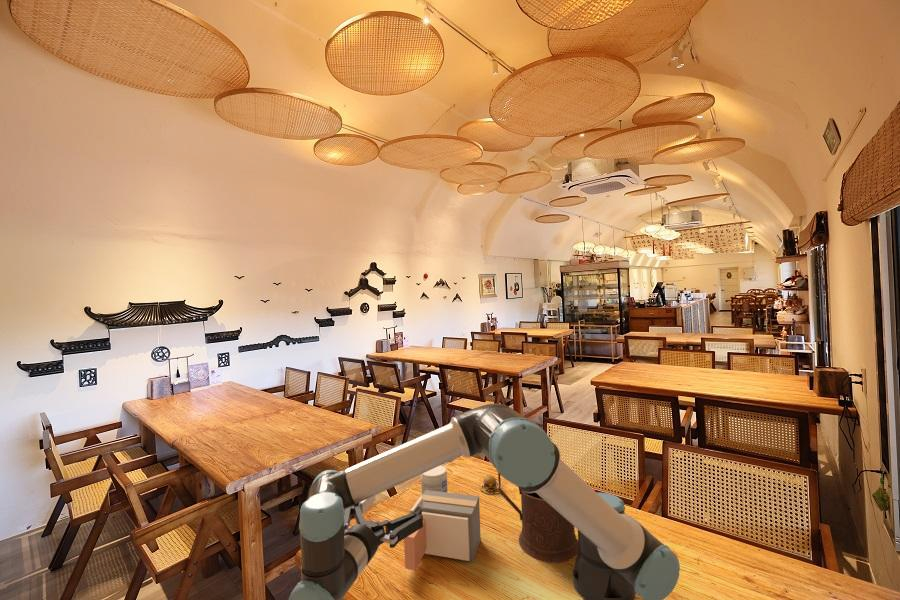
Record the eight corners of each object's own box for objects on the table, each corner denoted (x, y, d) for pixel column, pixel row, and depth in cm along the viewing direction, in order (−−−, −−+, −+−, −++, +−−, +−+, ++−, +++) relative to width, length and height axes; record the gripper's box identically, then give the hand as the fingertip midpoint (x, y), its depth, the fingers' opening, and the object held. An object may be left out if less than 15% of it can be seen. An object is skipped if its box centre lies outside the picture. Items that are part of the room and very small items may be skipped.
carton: (481, 540, 118) (479, 495, 118) (474, 562, 109) (472, 513, 109) (426, 532, 123) (425, 488, 123) (415, 552, 114) (413, 505, 114)
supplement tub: (449, 516, 132) (448, 474, 132) (423, 519, 131) (421, 477, 130) (446, 501, 141) (444, 463, 141) (421, 504, 140) (419, 465, 140)
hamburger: (504, 499, 142) (503, 485, 142) (473, 497, 145) (472, 482, 145) (507, 484, 154) (506, 471, 154) (478, 481, 157) (478, 468, 157)
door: (469, 558, 109) (468, 517, 109) (461, 584, 99) (459, 539, 99) (418, 550, 113) (417, 510, 113) (405, 573, 104) (403, 530, 104)
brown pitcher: (584, 566, 105) (581, 478, 105) (498, 558, 110) (495, 473, 110) (575, 526, 123) (572, 451, 123) (502, 520, 128) (499, 448, 128)
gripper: (302, 559, 80) (355, 506, 101) (409, 582, 73) (443, 519, 93) (301, 524, 80) (354, 478, 101) (408, 543, 73) (442, 490, 93)
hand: (397, 498), depth 97 cm, fingers open, 13 cm apart
